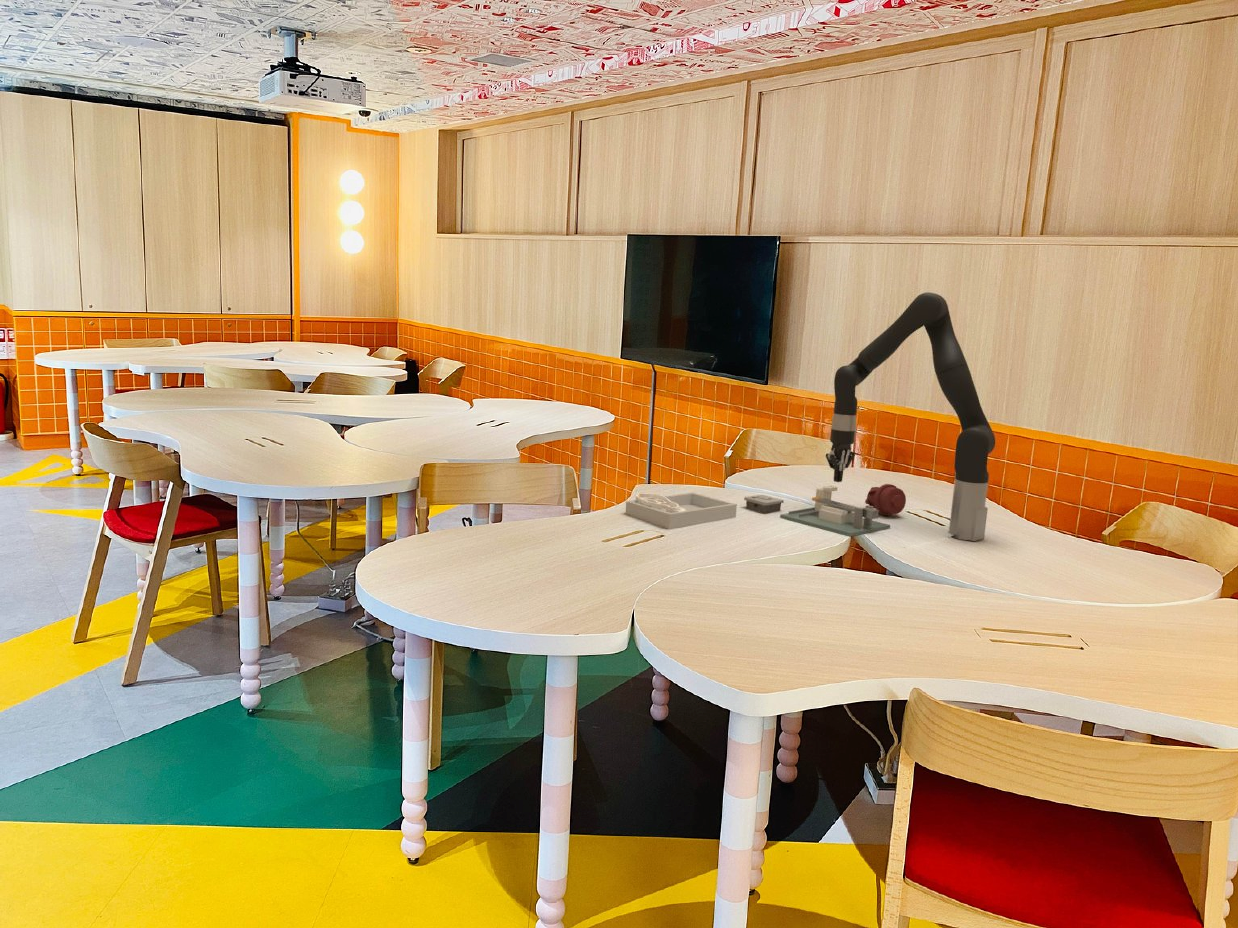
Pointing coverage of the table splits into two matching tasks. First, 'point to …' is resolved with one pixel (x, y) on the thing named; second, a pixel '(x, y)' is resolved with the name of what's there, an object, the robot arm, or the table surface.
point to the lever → (849, 507)
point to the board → (834, 526)
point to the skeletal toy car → (659, 503)
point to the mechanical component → (886, 499)
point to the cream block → (824, 495)
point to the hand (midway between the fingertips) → (837, 481)
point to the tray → (696, 511)
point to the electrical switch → (763, 503)
